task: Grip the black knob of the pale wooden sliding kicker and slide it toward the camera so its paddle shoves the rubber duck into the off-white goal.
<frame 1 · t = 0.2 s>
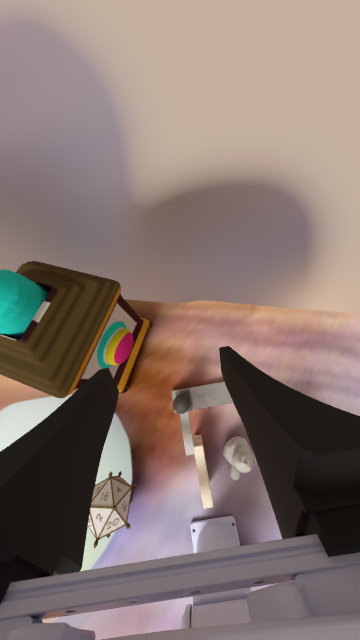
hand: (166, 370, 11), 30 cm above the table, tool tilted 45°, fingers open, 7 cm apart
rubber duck: (234, 451, 34), on the table
decorative lantern: (111, 346, 44), on the table
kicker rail: (211, 394, 38), on the table
game die: (119, 489, 34), on the table
kicker: (191, 439, 31), point 5 cm above the table, slide at 0.0 cm
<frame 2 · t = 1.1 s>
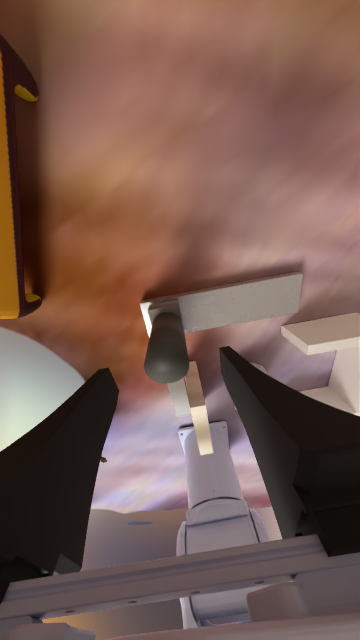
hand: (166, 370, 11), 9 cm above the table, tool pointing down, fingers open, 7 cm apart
goal: (306, 362, 24), on the table
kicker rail: (219, 304, 20), on the table
kicker: (183, 386, 18), point 5 cm above the table, slide at 0.0 cm
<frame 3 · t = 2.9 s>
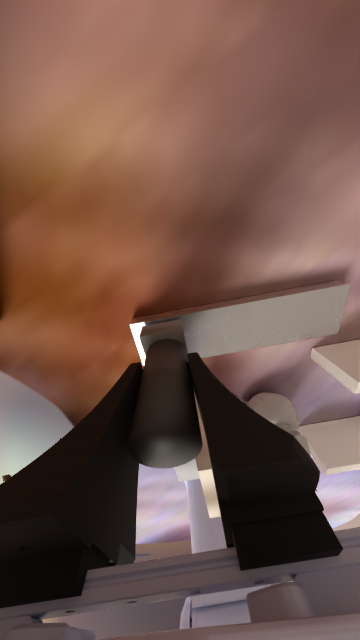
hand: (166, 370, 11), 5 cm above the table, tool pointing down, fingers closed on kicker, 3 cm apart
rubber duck: (256, 402, 20), on the table
goal: (338, 390, 19), on the table
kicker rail: (234, 323, 15), on the table
kicker: (188, 433, 14), point 5 cm above the table, slide at 0.0 cm, touching gripper
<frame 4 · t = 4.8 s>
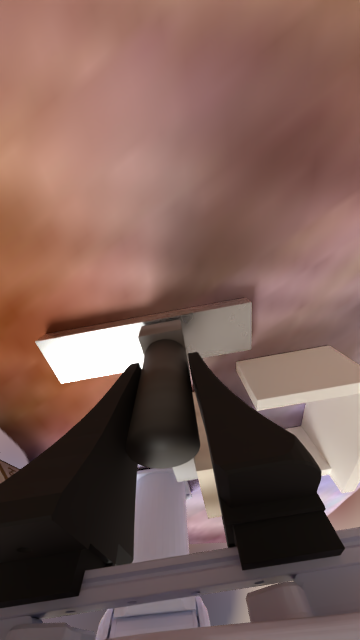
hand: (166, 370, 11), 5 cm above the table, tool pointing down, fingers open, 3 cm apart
goal: (272, 401, 20), on the table
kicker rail: (150, 338, 15), on the table
game die: (11, 460, 22), on the table
kicker: (186, 433, 14), point 5 cm above the table, slide at 7.4 cm, touching gripper, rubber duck
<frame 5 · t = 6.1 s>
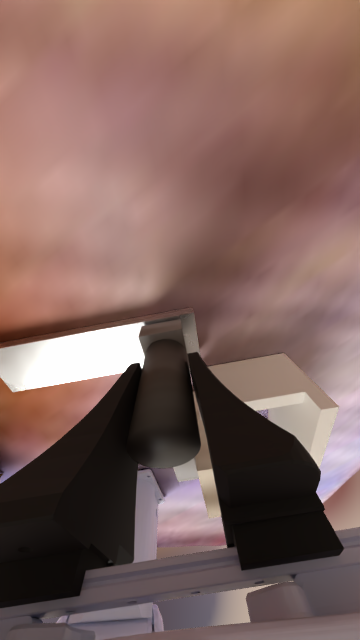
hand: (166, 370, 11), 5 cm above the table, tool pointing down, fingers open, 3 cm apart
goal: (234, 408, 20), on the table
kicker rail: (101, 347, 15), on the table
kicker: (187, 433, 14), point 5 cm above the table, slide at 11.9 cm, touching gripper, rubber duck
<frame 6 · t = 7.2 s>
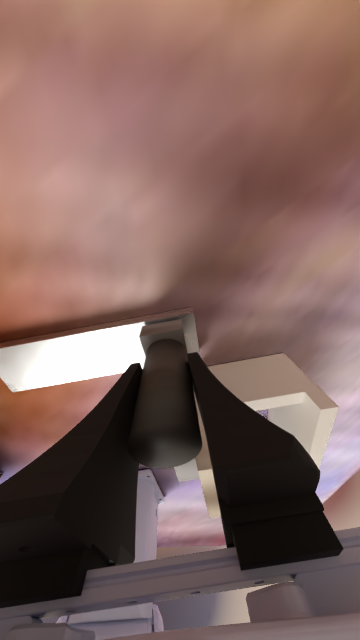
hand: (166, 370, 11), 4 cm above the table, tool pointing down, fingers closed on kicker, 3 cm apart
goal: (233, 408, 20), on the table
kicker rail: (101, 347, 15), on the table
kicker: (188, 433, 14), point 5 cm above the table, slide at 12.0 cm, touching gripper
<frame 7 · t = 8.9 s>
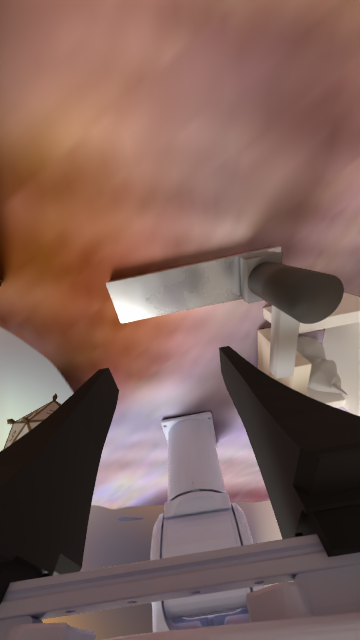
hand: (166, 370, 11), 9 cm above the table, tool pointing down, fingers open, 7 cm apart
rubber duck: (284, 349, 23), on the table
goal: (292, 348, 23), on the table
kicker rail: (194, 284, 18), on the table
game die: (63, 407, 25), on the table
kicker: (275, 348, 17), point 5 cm above the table, slide at 12.0 cm
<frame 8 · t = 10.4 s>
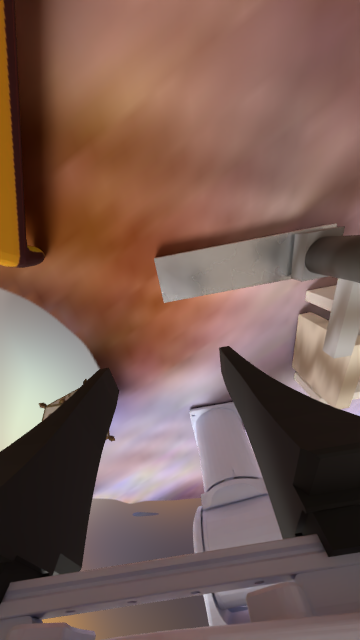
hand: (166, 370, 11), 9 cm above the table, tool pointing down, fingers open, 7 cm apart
goal: (330, 334, 22), on the table
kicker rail: (240, 264, 18), on the table
game die: (91, 393, 24), on the table
kicker: (327, 328, 16), point 5 cm above the table, slide at 12.0 cm
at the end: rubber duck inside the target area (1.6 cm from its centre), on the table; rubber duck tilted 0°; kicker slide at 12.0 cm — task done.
